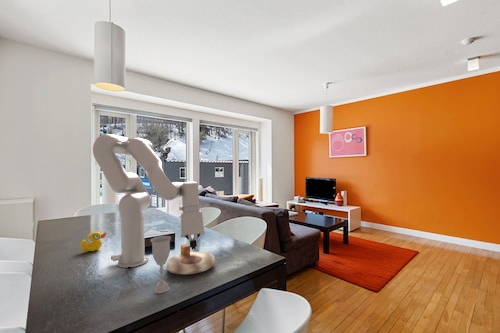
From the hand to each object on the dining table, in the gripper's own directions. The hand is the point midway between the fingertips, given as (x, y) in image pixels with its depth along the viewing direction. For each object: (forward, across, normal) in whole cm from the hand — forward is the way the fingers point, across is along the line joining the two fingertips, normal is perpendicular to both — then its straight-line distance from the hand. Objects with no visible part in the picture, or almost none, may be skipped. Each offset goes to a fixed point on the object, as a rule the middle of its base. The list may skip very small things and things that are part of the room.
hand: (193, 248), depth 110 cm
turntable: (+4, -2, -7) cm, 8 cm away
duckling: (+4, -49, +32) cm, 59 cm away
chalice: (+6, -13, -22) cm, 26 cm away
